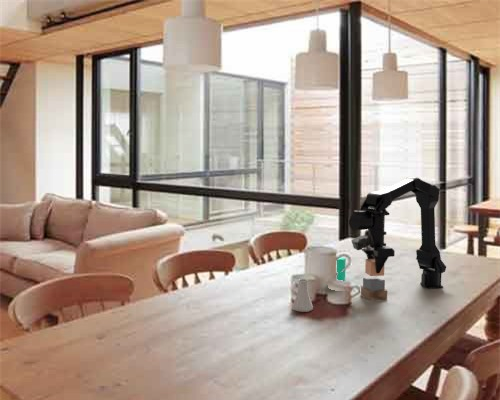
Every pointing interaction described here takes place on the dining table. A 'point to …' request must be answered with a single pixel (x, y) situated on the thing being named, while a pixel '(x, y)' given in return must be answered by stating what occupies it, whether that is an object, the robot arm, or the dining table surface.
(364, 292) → the tower base
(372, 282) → the tower middle
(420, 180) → the robot arm
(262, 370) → the dining table surface
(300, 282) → the flask
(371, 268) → the terracotta cube
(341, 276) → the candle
